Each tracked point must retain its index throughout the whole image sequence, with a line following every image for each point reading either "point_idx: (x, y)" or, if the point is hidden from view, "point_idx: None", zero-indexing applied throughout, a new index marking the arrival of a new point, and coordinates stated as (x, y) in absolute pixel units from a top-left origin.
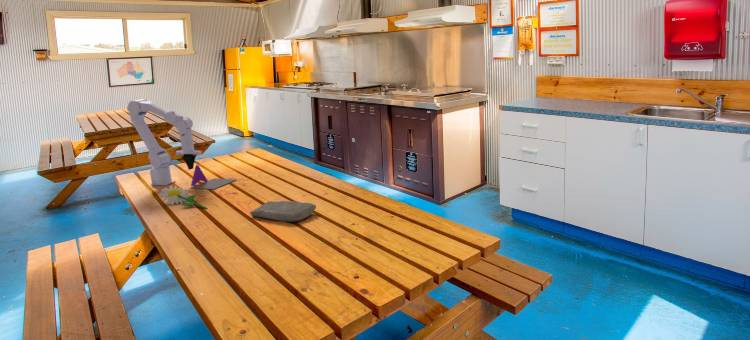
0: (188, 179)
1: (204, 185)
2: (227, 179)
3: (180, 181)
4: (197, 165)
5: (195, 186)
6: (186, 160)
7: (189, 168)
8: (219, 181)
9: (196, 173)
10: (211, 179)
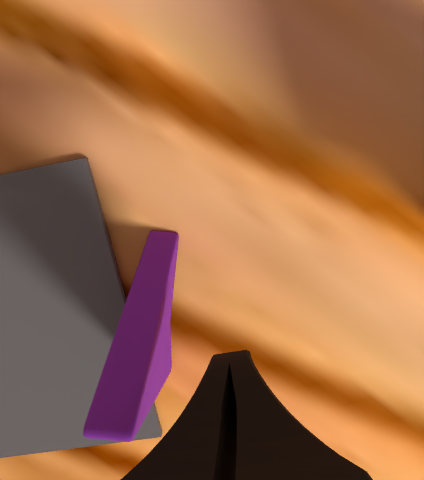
0: (383, 365)
1: (31, 258)
2: (27, 442)
3: (405, 297)
4: (87, 427)
5: (79, 206)
6: (240, 442)
7: (226, 357)
8: (30, 385)
9: (119, 329)
10: (152, 407)
